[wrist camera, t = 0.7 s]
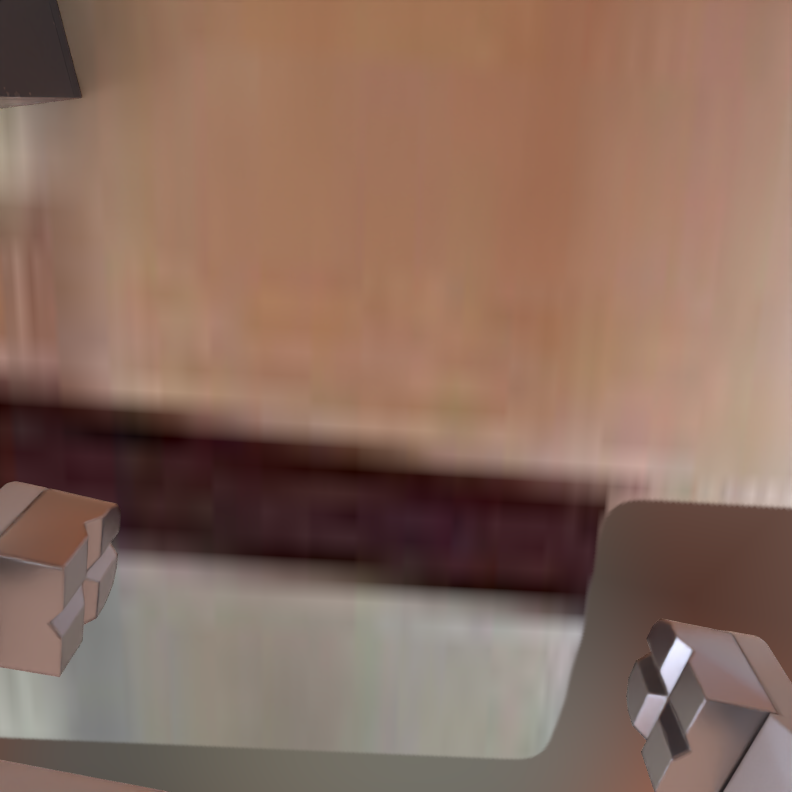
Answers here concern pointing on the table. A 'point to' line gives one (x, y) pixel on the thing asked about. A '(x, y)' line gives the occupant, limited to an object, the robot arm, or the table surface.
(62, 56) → the cupboard
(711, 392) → the table surface
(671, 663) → the robot arm
